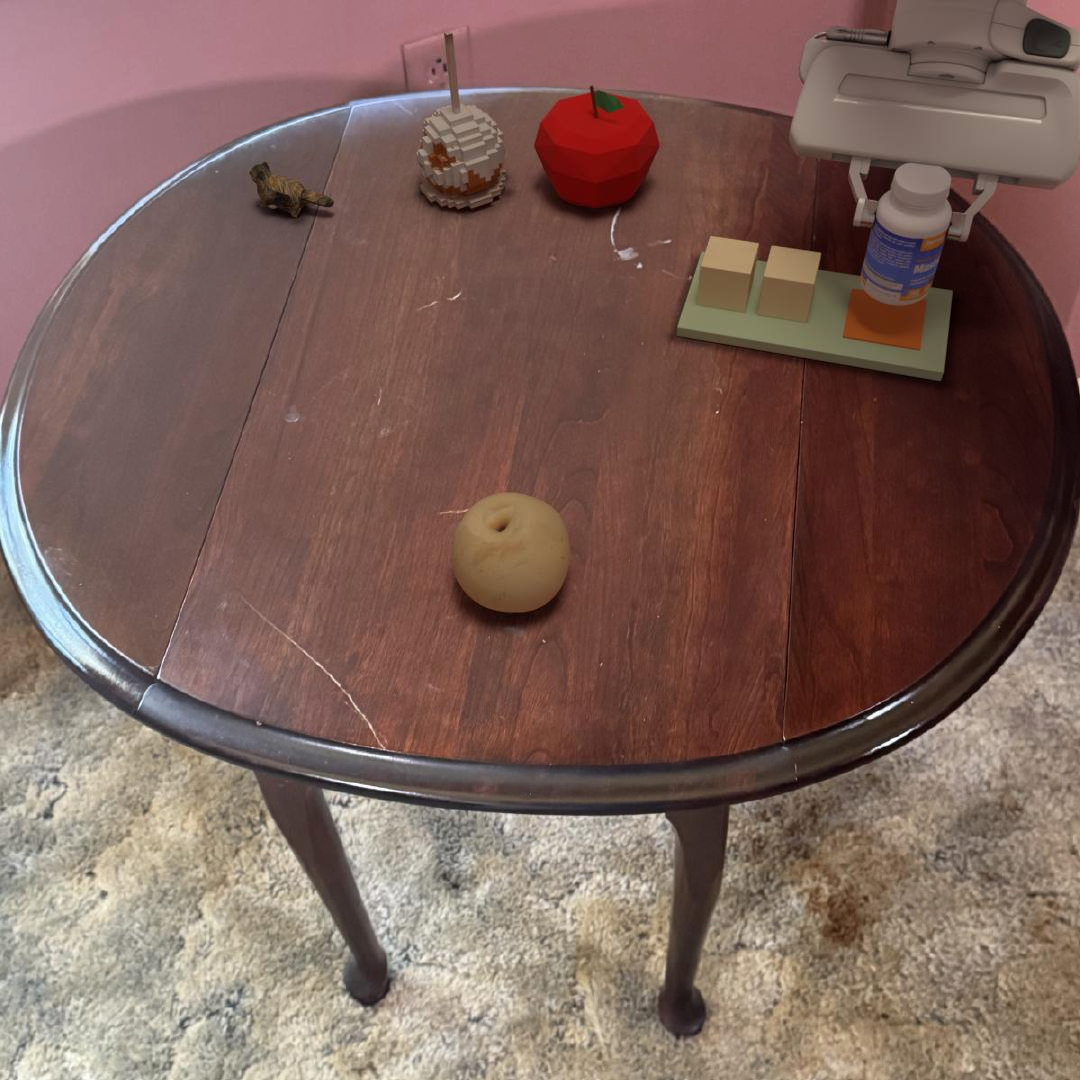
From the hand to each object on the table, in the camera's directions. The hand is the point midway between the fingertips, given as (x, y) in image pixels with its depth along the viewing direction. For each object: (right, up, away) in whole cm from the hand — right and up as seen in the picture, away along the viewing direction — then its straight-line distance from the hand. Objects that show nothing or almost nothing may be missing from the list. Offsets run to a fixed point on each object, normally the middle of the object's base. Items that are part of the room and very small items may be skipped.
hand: (909, 233), depth 82 cm
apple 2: (-22, +10, +21) cm, 32 cm away
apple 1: (-29, -26, -6) cm, 39 cm away
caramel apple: (-34, +10, +22) cm, 42 cm away
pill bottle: (0, -3, +5) cm, 6 cm away
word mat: (-5, -4, +9) cm, 11 cm away
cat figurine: (-50, +8, +21) cm, 55 cm away
